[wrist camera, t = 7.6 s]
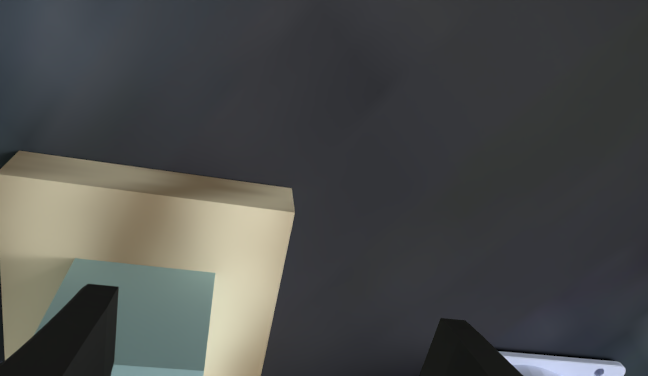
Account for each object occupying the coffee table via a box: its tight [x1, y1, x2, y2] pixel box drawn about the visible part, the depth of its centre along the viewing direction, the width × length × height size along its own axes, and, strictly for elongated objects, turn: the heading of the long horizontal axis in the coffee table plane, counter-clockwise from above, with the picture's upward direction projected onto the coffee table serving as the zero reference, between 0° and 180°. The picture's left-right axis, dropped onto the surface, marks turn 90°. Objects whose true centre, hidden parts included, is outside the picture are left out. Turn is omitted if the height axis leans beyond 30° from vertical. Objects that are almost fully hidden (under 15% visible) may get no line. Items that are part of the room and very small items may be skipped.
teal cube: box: [34, 258, 215, 376], centre depth 19 cm, size 5×5×5 cm
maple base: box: [0, 151, 295, 376], centre depth 22 cm, size 10×10×2 cm
